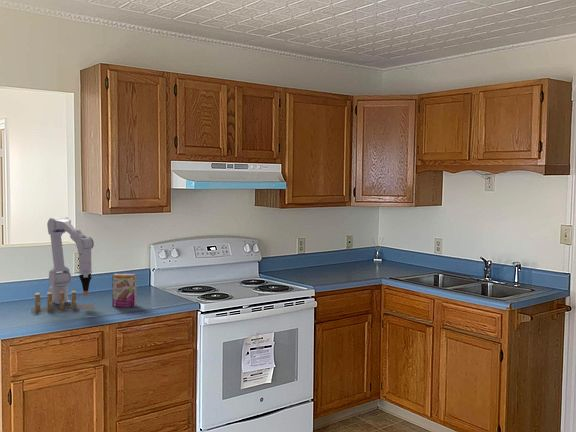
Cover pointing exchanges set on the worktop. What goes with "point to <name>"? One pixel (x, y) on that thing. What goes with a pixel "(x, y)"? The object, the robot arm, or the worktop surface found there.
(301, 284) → the worktop surface
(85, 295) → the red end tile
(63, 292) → the maple tile
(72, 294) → the maple tile
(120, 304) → the candy bar box
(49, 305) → the maple tile
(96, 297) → the worktop surface
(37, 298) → the maple tile
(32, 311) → the domino mat
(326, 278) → the worktop surface
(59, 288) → the robot arm
